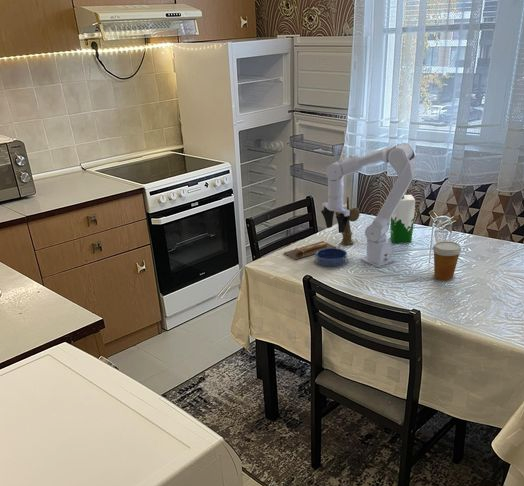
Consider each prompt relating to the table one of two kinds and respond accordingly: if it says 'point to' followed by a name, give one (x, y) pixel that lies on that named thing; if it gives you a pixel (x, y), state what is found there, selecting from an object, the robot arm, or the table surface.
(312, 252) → the board
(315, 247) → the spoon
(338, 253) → the bowl
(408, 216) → the milk carton
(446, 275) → the disposable coffee cup
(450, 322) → the table surface
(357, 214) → the kendama
